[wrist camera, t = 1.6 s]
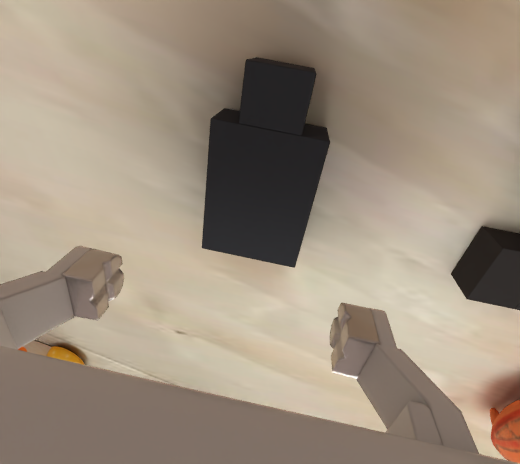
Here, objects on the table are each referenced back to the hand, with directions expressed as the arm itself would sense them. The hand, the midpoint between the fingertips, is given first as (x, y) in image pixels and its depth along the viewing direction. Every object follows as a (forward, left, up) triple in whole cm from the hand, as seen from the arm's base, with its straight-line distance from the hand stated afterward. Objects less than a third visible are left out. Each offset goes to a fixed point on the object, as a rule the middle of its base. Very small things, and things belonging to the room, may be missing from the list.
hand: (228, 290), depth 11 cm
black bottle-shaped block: (-2, 0, -10) cm, 10 cm away
